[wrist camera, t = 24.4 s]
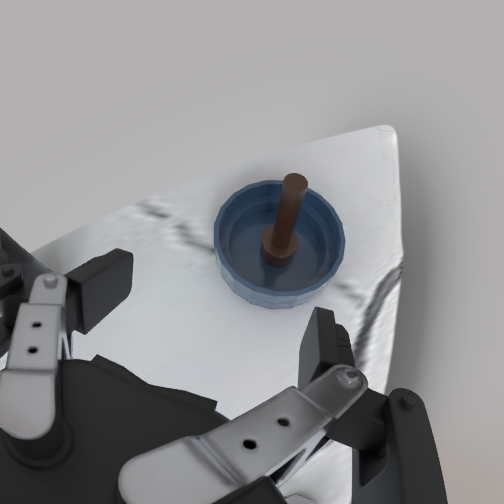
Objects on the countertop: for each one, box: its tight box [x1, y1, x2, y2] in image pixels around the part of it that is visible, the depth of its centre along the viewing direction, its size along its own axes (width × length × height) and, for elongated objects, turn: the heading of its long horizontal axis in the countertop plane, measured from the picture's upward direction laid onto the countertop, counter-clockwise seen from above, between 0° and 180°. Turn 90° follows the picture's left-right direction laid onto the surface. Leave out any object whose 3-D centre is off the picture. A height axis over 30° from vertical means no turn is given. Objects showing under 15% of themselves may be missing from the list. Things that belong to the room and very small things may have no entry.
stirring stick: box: [260, 173, 308, 267], centre depth 32 cm, size 4×4×14 cm
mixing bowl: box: [214, 180, 345, 309], centre depth 36 cm, size 15×15×6 cm
